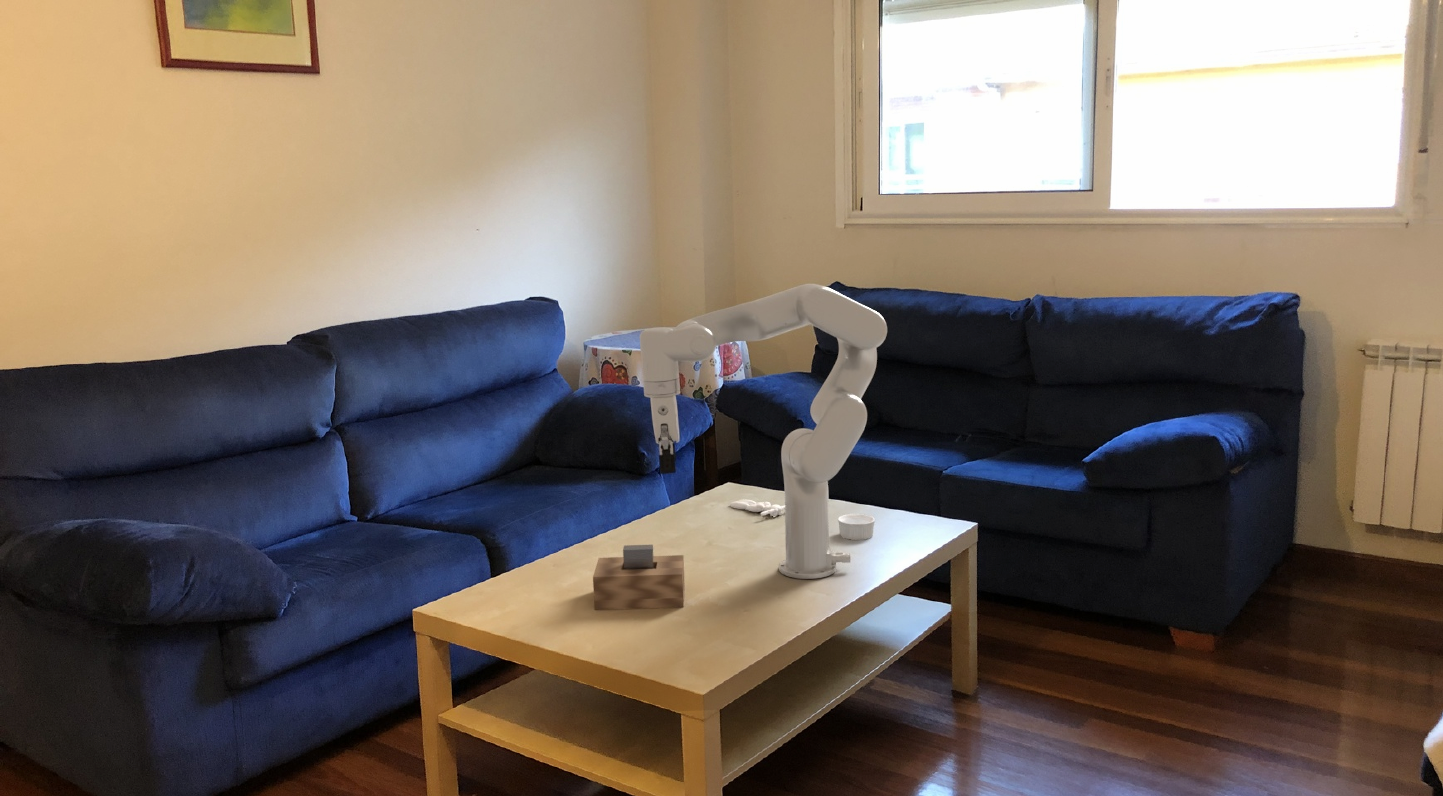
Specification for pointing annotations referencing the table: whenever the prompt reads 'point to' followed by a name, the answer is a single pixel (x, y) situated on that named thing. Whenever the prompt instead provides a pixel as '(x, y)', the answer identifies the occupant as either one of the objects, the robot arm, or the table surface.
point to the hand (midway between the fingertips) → (668, 467)
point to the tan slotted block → (639, 584)
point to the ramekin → (856, 526)
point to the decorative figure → (758, 507)
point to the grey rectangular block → (638, 557)
